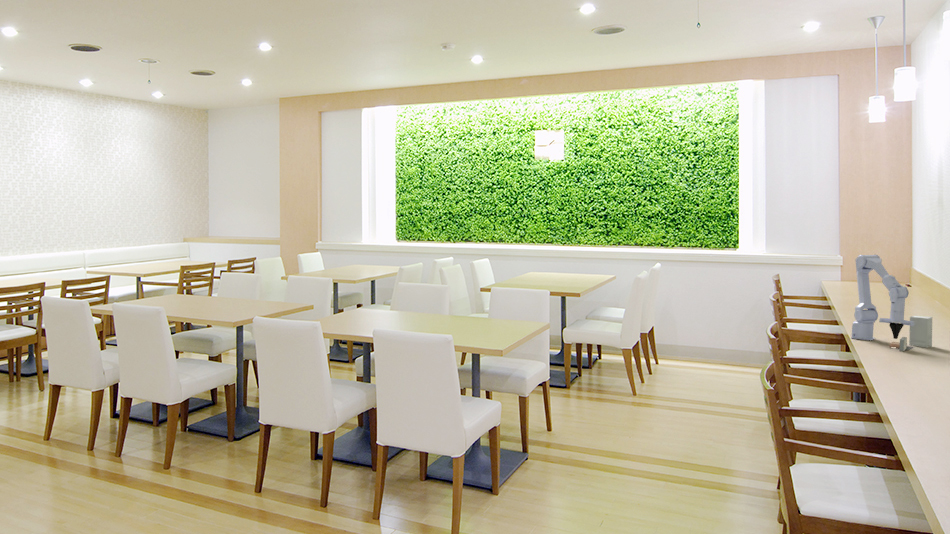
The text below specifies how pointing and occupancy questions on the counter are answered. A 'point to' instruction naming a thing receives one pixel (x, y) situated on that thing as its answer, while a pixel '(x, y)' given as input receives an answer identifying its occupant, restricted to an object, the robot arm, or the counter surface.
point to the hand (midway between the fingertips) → (895, 338)
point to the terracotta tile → (895, 344)
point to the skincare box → (921, 331)
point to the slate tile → (903, 344)
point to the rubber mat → (907, 348)
